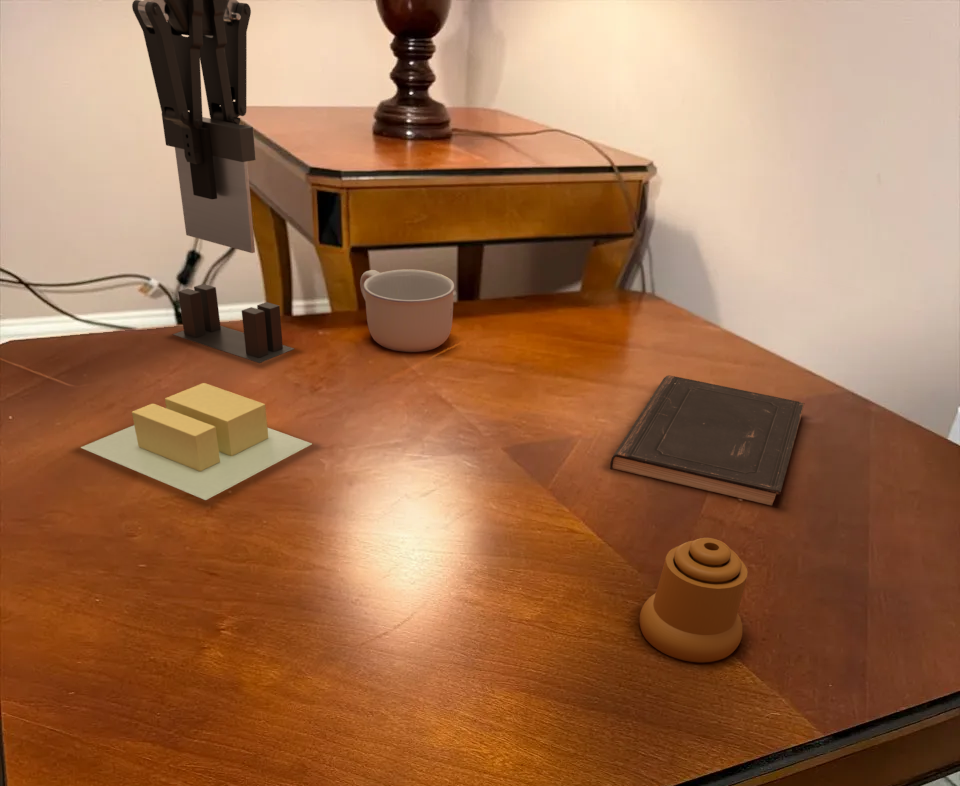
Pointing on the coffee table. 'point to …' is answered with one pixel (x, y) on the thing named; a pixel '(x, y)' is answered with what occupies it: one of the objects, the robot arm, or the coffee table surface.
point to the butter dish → (192, 481)
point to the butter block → (224, 415)
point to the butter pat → (176, 437)
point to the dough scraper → (218, 185)
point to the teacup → (408, 308)
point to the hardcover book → (713, 439)
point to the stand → (205, 328)
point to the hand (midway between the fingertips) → (214, 194)
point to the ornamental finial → (696, 602)
